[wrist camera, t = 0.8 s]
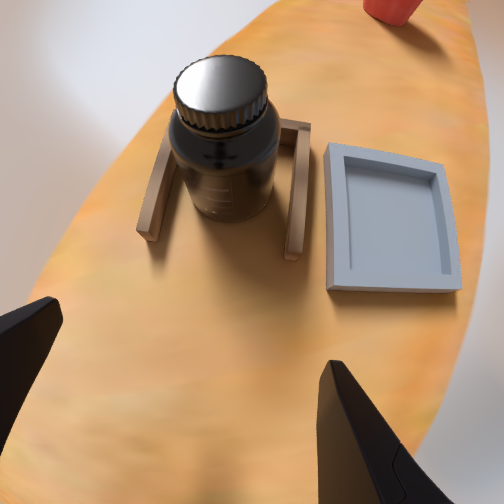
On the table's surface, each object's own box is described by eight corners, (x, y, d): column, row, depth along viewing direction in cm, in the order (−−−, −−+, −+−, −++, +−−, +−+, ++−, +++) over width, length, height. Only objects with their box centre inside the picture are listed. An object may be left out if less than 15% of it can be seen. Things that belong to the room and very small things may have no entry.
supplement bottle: (215, 142, 26) (202, 34, 14) (284, 172, 25) (310, 65, 14) (173, 203, 24) (127, 106, 13) (247, 240, 24) (251, 152, 12)
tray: (448, 293, 23) (462, 289, 21) (326, 289, 23) (333, 285, 21) (433, 174, 26) (443, 164, 24) (323, 155, 26) (328, 142, 24)
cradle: (296, 261, 23) (302, 252, 21) (145, 240, 23) (135, 230, 21) (305, 139, 26) (310, 123, 24) (178, 126, 26) (173, 109, 24)
